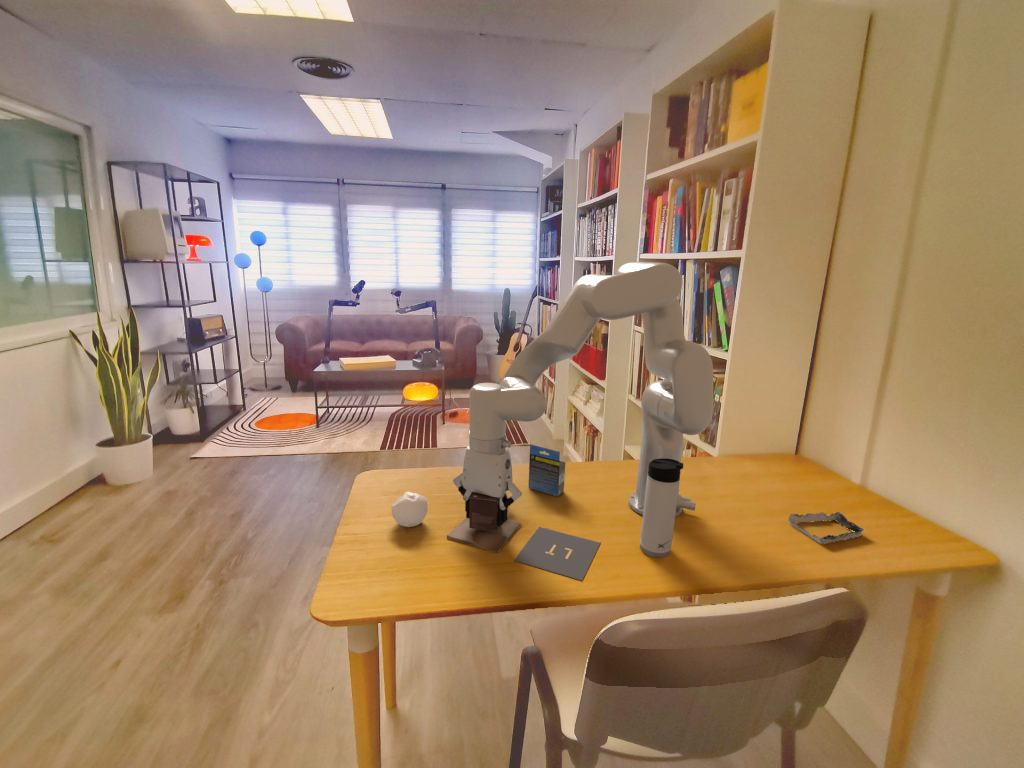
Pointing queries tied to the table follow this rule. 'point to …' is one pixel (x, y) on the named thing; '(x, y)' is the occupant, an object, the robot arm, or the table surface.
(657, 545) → the travel mug
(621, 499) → the table surface
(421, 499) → the white rounded piece
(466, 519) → the walnut pad
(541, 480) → the label tape cartridge
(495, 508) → the box
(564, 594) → the table surface
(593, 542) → the mat
